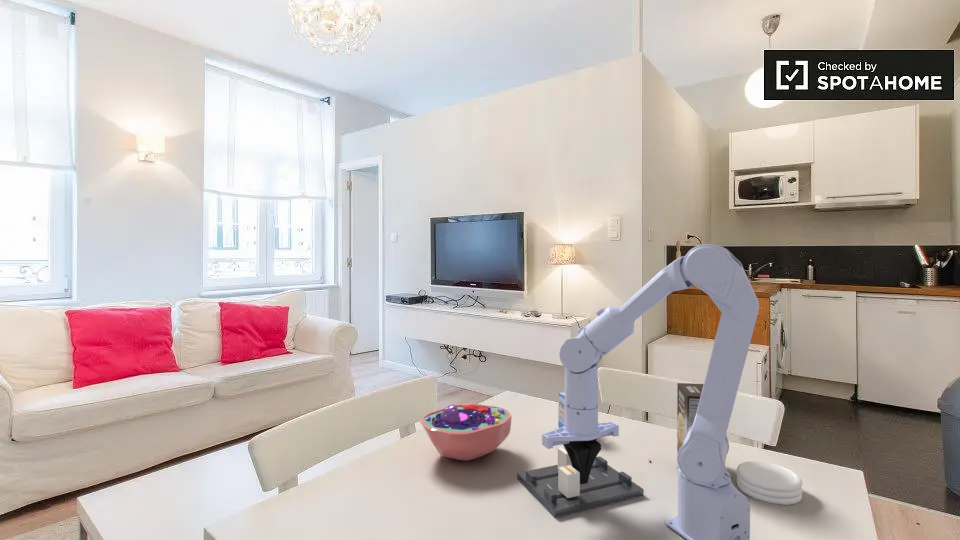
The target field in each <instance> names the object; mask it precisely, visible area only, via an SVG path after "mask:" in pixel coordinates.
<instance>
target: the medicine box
mask: <svg viewBox="0 0 960 540" xmlns="http://www.w3.org/2000/svg"><path fill="white" fill-rule="evenodd" d="M557 407H558V412H557V413H558V417H557V420H558V421H557V423H558V424H557V426H558V428H561V427H563V426H565V391H563V392H559V393H558V406H557Z"/></svg>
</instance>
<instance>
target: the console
mask: <svg viewBox="0 0 960 540" xmlns="http://www.w3.org/2000/svg"><path fill="white" fill-rule="evenodd" d="M516 479H517V481H519V483H520V484H522V486H523V487H524V488H525V489H526V490H527V491H528V492H529V493H530V494H531V495H532V496H533V497H534V498H535V499H536V500H537V502H539V503H540V504H541V506H543V507H544V508H545V509H546V510H547V511H548V513H549V514H551V515H552V516H553V518H555V519H557V518H560V517H565V516H568V515H572V514H576V513H580V512H584V511H589V510H591V509H593V510H594V509H596V508H600V507H605V506H609V505H612V504H617V503H619V502H624V501H628V500H629V501H630V500H632V499H637V498H640V497H643V496H645V495H644V493H645V492H644V488H643V487H642V486H640V485H638V484H636V483H635V482H634V481H633V480H632V479H633V477H632V476H631V475H629V474H627V473H626V472H624V471H617V469H615V468H613V467H612V466H610V465H608V461H607V460H606V459H605V458H603V457H602V456H597V457H596V458H595V460H594V463H593V465H592V468H591V471H590V475H589V479H588V483H586V484H580V496H575V497H571V498H567V497H566V496H565V495H563V494H562V493H561V492H560V491H559V490H558V464H554V465H550V466H549V465H548V466H544V467H539V468H533V469H531V470H524V471H519V472H516Z"/></svg>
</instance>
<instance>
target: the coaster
mask: <svg viewBox="0 0 960 540" xmlns="http://www.w3.org/2000/svg"><path fill="white" fill-rule="evenodd" d="M736 485H737V486H736V487H738V489H739V490H740V492H742V493H744V495H747V496H749V497H750V498H754V499H755V500H757V501H761V502H764V503H768V504H773V505H779V506H780V505H781V506H789V505H791V504H792V505H795V504H798V503H800V502H801V501H802V499H803V480H802V478H801V477H800V476H799V475H798V474H797V473H796V472H794V471H792V470H791V469H789V468H786V467H784V466H781V465H778V464H776V463H775V464H774V463H772V462H766V461H760V460H759V461H758V460H757V461H756V460H751V461H743V462H742V463H739V464H737V466H736ZM792 505H791V506H792Z"/></svg>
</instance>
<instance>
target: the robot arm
mask: <svg viewBox="0 0 960 540" xmlns="http://www.w3.org/2000/svg"><path fill="white" fill-rule="evenodd" d="M694 286H695V287H696V288H697V289H699V290H701V291H702V292H703V293H705V294H707V295H708V297H709V298H710V300H711V301H712V302H713V303H714V304H715V306H716V307H717V308H718V309H719V312H721V313H720V314H721V315H720V318H719V322H718V324H717V325H718V326H717V329H716V330H717V331H716V334H715V337H714V343H713V346H712V350H711V353H710V358H709V362H708V366H707V370H706V374H705V377H704V381H703V384H704V385H703V389H702V393H701V397H700V401H699V405H698V409H697V413H696V416H695V419H694V423H693V425H692V426H691V427H690V428H689V429H688V431H687V433H686V436H685V440H684V443H683V445H682V447H681V448H680V449H679V451H678V455H676V460H677V466H678V468H677V516H676V517H675V516H674V517H672V518H667V519H665V521H664V524H665V525H666V526H667V527H669V528H670V529H671V530H673V531H675V532H676V533H677V534H679V535H680V536H681V537H683V538H684V539H685V540H750V539H751V529H750V528H751V507H750V502H749V500H748V498H747V496H746V494H743V492H742V491H739V490H738V488H736V487H735V485H734V484H733V482H732V480H731V479H732V478H731V477H732V476H731V473H730V472H729V470H728V469H727V467H726V461H727V455H728V453H729V450H730V444H729V443H730V442H729V438H728V436H727V434H728V428H729V423H730V420H731V417H732V414H733V410H734V406H735V402H736V398H737V395H738V390H739V387H740V382H741V379H742V375H743V372H744V368H745V364H746V362H747V357H748V352H749V350H750V345H751V341H752V338H753V335H754V330H755V326H756V323H757V320H758V319H757V318H758V315H759V311H760V301H759V299H758V297H757V295H756V293H755V291H754V288H753V286H752V285H751V282H750V280H749V278H748V276H747V273H746V271H745V269H744V267H743V264H742V262H741V261H740V260H739V259H738V258H737V257H735V255H734V254H733V253H732V252H730V250H729V249H727V248H725V247H723V246H722V245H718V244H713V243H701V244H699V245H696V246H694V247H693V248H691V249H689V250H688V251H687V253H686V254H685V255H683V256H680V257H678V258H677V259H675V260H673V261H672V262H671V263H669V264H668V265H667V266H664V268H662V269H661V270H660V271H659V272H658V273H656V275H655V276H653V277H652V278H651V279H650V280H649V281H648V282H646V284H644V285H643V286H642V287H641V288H640V289H639V290H637V292H636V293H634V294H633V295H632V296H631V297H630V298H629V299H628V300H627V301H626V302H625V303H624V304H623V305H621V306H613V305H612V306H611V305H610V306H607V308H604V307H602V308H599V310H597V311H596V312H595V313H596V315H597V316H596V317H595V318H594V319H592V321H591V322H589V323H588V324H587V325H586V326H580V327H579V328H578V329H577V330H576V333H578V334H577V335H576V336H574V337H569V338H567V339H566V340H565V341H564V343H563V344H562V345H561V347H560V350H559V360H560V362H561V365H563V367H564V392H565V426H563V427H561V428H559V427H558V428H557V429H554V430H550V431H548V432H545V433H541V445H542V446H543V447H545V448H546V449H547V450H549V449H550V450H551V449H553V448H554V447H555V446H561V445H563V447H565V449H566V451H567V453H568V456H569V458H570V461H571V464H572V467H573V468H575V469H576V470H577V471H578V472H580V484H586V483H588V479H589V475H590V471H591V468H592V465H593V463H594V460H595V458H596V457H598V454H599V453H600V452H601V451H602V443H601V442H600V441H598V439H600V438H605V437H611V436H612V437H619V436H620V435H619V433H620V432H619V431H620V426H619V424H617V423H615V422H612V421H610V422H608V421H607V422H599V378H598V377H599V374H598V367H599V366H598V364H599V363H600V361H601V360H602V358H603V357H604V356H606V355H607V354H609V353H611V351H612V350H614V349H615V348H616V347H618V346H619V345H620V344H622V343H623V342H624V341H625V340H626V339H627V338H629V337H631V336H632V335H633V334H634V331H635V321H636V320H638V319H639V318H640V317H641V316H643V315H644V314H646V313H647V312H648V311H649V310H651V309H652V308H654V307H655V306H656V305H657V304H658V303H660V302H661V301H662V300H664V299H665V298H667V296H669V295H670V294H672V293H673V292H677V291H683V290H687V289H690V288H692V287H694Z"/></svg>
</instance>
